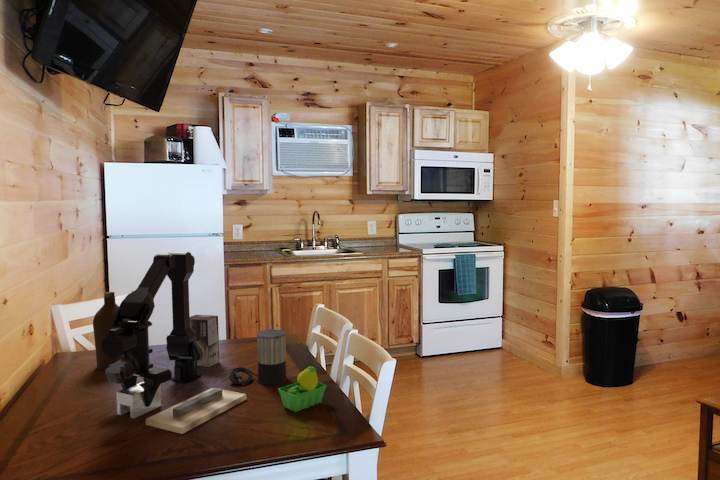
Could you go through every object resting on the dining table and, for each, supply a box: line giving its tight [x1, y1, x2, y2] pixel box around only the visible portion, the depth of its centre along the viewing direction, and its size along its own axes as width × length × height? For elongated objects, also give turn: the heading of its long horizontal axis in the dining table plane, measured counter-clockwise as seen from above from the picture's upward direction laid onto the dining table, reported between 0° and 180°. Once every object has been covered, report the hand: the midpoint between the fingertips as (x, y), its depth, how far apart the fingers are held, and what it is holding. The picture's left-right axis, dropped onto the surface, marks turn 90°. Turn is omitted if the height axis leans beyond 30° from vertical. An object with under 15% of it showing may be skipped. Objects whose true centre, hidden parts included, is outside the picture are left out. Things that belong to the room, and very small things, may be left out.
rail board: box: [145, 387, 247, 435], centre depth 137 cm, size 24×12×4 cm, turn 154°
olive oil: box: [92, 291, 129, 371], centre depth 176 cm, size 11×11×25 cm
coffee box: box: [190, 314, 220, 368], centre depth 178 cm, size 9×6×16 cm
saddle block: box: [116, 380, 162, 419], centre depth 139 cm, size 9×6×6 cm, turn 154°
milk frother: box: [228, 328, 288, 386], centre depth 160 cm, size 14×16×15 cm
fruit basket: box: [277, 365, 327, 413], centre depth 140 cm, size 11×9×11 cm
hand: (139, 404), depth 139 cm, fingers closed on saddle block, 6 cm apart
